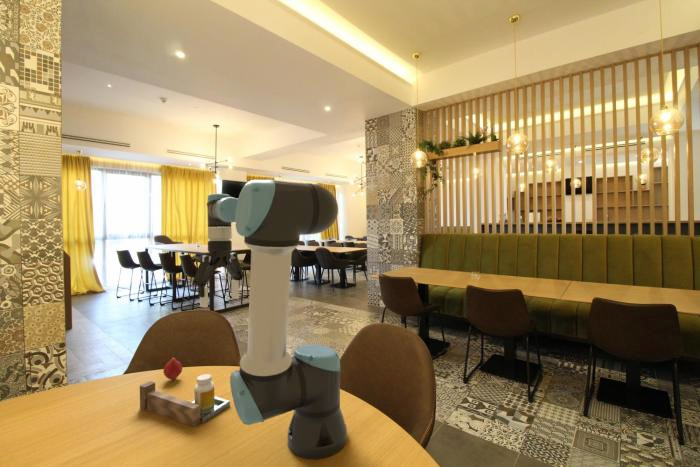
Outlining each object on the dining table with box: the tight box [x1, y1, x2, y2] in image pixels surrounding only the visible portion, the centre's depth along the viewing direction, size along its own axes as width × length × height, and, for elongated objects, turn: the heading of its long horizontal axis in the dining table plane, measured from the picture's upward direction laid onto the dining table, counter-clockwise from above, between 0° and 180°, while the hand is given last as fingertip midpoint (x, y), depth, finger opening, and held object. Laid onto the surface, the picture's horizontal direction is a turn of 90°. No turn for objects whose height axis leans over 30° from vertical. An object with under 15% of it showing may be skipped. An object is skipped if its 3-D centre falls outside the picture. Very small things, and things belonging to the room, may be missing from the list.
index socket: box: [191, 395, 231, 425], centre depth 97 cm, size 10×10×2 cm
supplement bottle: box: [193, 373, 215, 414], centre depth 97 cm, size 5×5×10 cm
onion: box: [163, 357, 183, 381], centre depth 116 cm, size 6×6×8 cm
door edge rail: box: [139, 380, 201, 428], centre depth 94 cm, size 22×3×7 cm, turn 65°
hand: (220, 302), depth 111 cm, fingers open, 13 cm apart
